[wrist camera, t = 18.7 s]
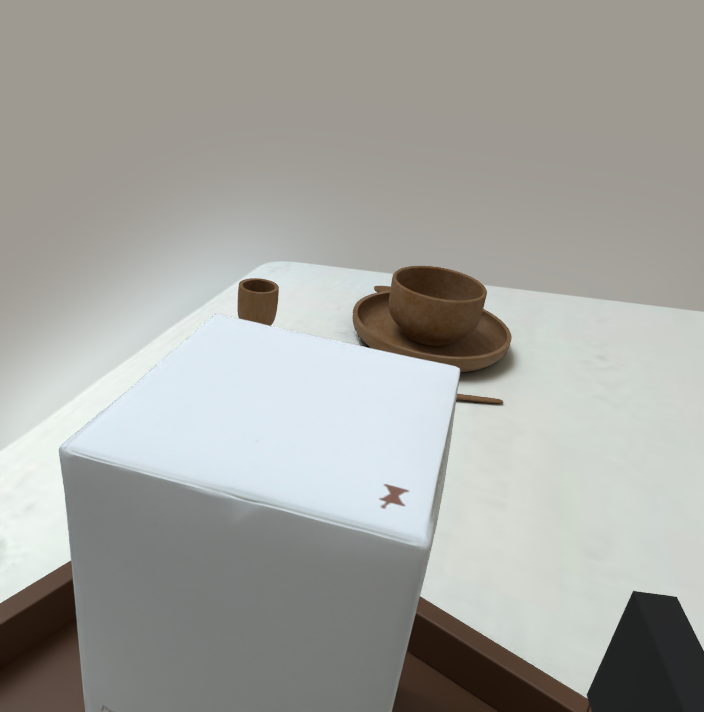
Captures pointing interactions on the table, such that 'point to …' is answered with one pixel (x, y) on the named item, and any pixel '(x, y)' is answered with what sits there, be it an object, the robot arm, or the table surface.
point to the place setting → (412, 318)
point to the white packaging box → (256, 524)
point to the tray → (413, 697)
